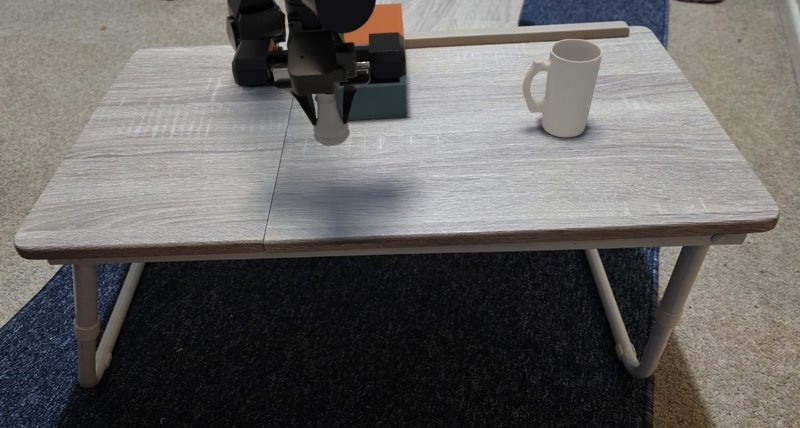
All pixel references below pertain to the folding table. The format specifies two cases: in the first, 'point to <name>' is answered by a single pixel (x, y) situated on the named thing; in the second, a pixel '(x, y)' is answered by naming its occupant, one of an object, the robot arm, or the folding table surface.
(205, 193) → the folding table surface
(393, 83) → the bin
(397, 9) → the bin lid
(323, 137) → the rook chess piece
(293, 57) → the robot arm
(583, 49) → the mug
